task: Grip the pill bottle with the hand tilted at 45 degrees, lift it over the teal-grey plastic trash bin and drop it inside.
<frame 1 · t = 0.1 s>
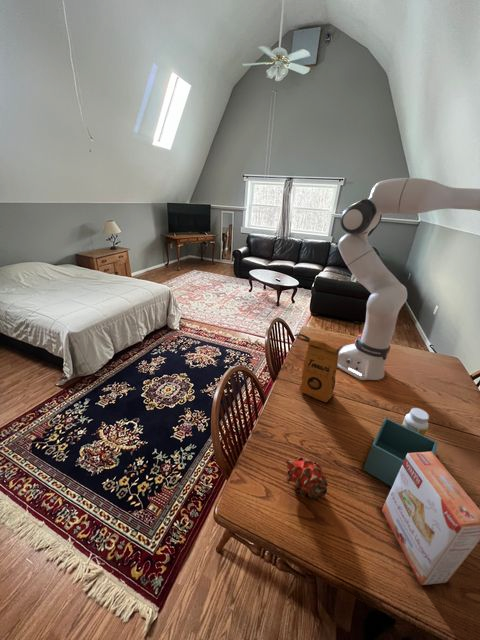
pill bottle: (408, 440, 85), on the table
cracker box: (409, 544, 59), on the table
coffee package: (315, 393, 103), on the table
trash bin: (394, 468, 76), on the table
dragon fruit: (303, 486, 70), on the table
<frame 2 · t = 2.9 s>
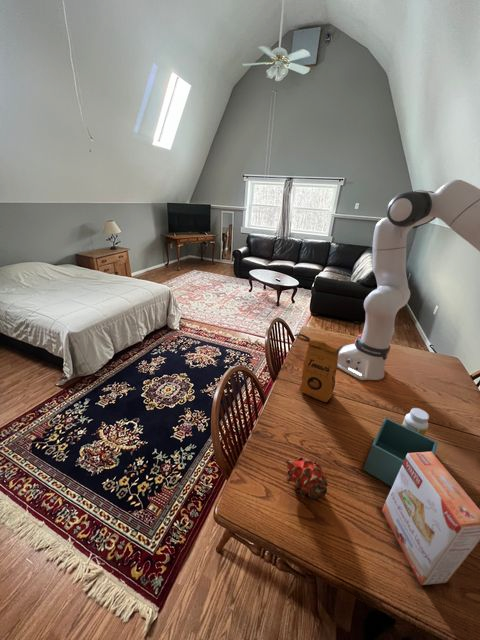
nothing on the table moved.
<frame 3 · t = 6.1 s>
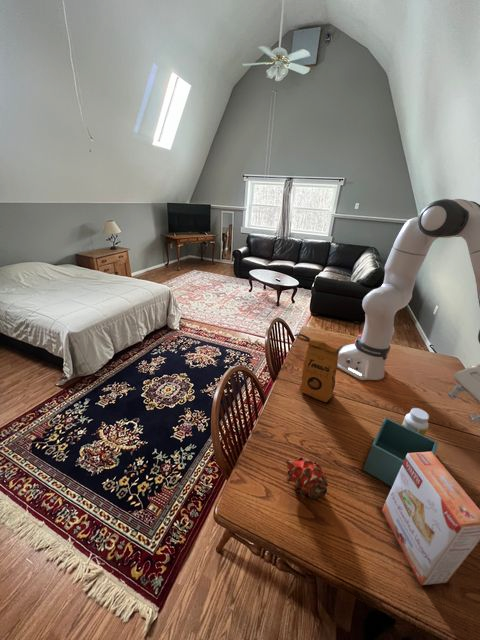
hand: (460, 407, 78), 14 cm above the table, tool tilted 45°, fingers open, 8 cm apart
nothing on the table moved.
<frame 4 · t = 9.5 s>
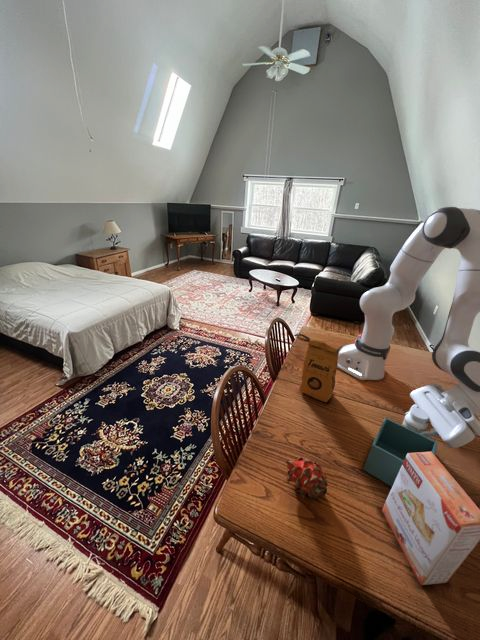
hand: (412, 425, 82), 6 cm above the table, tool tilted 45°, fingers closed on pill bottle, 6 cm apart
pill bottle: (408, 440, 85), on the table, touching gripper
everything else where it was.
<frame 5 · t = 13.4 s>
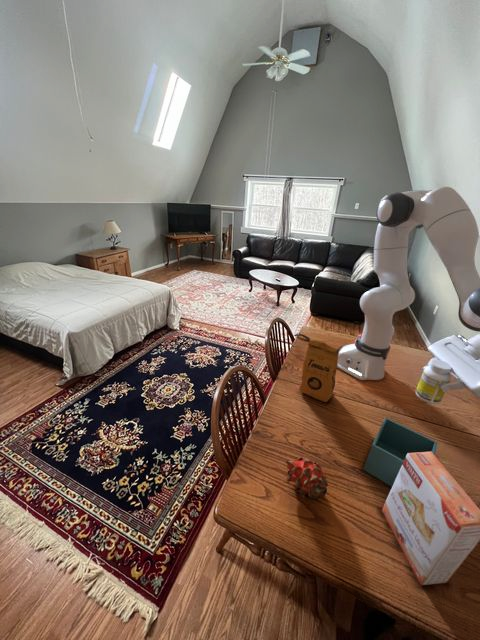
hand: (432, 379, 73), 25 cm above the table, tool tilted 45°, fingers closed on pill bottle, 6 cm apart
pill bottle: (427, 397, 75), point 19 cm above the table, touching gripper
everything else where it was.
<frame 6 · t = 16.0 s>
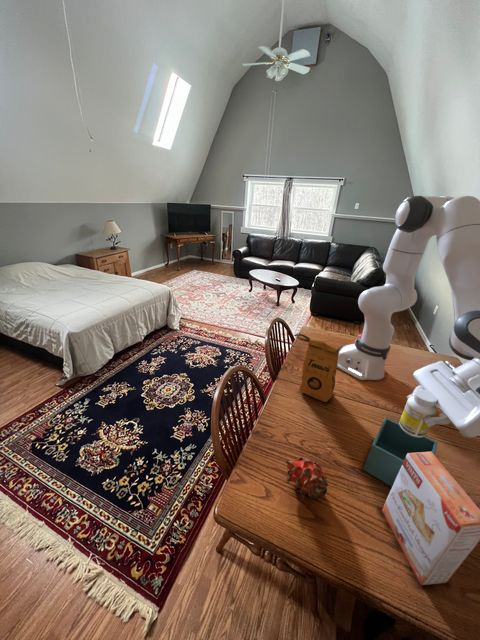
hand: (416, 411, 67), 21 cm above the table, tool tilted 45°, fingers closed on pill bottle, 6 cm apart
pill bottle: (411, 429, 69), point 15 cm above the table, touching gripper
everything else where it was.
when the fingers open (17 cm above the table, at t = 17.6 s): pill bottle drops 11 cm, resting on trash bin.
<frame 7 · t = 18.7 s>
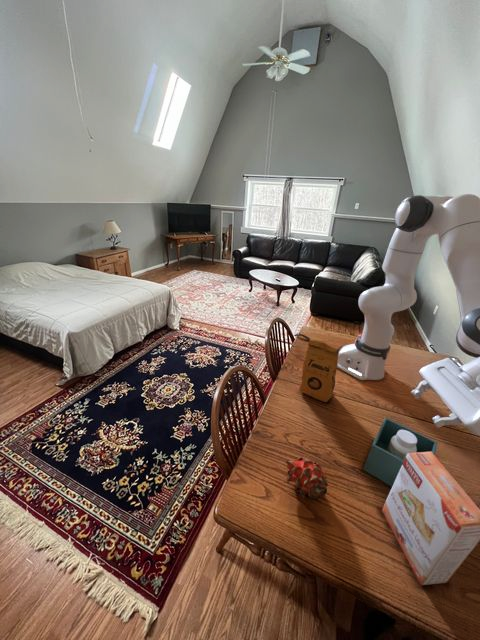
hand: (423, 408, 66), 22 cm above the table, tool tilted 45°, fingers open, 8 cm apart
pill bottle: (394, 465, 76), point 1 cm above the table, touching trash bin
everything else where it was.
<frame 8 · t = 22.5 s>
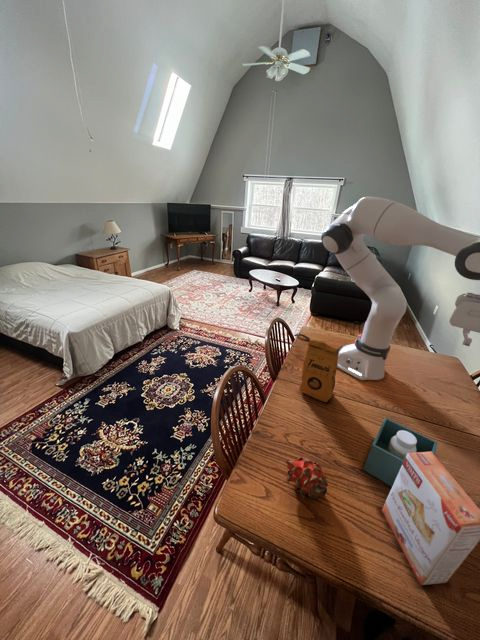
nothing on the table moved.
at the end: pill bottle inside the target area in the trash bin (0.3 cm from its centre), point 0.6 cm above the trash bin's base; the gripper is holding nothing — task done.
